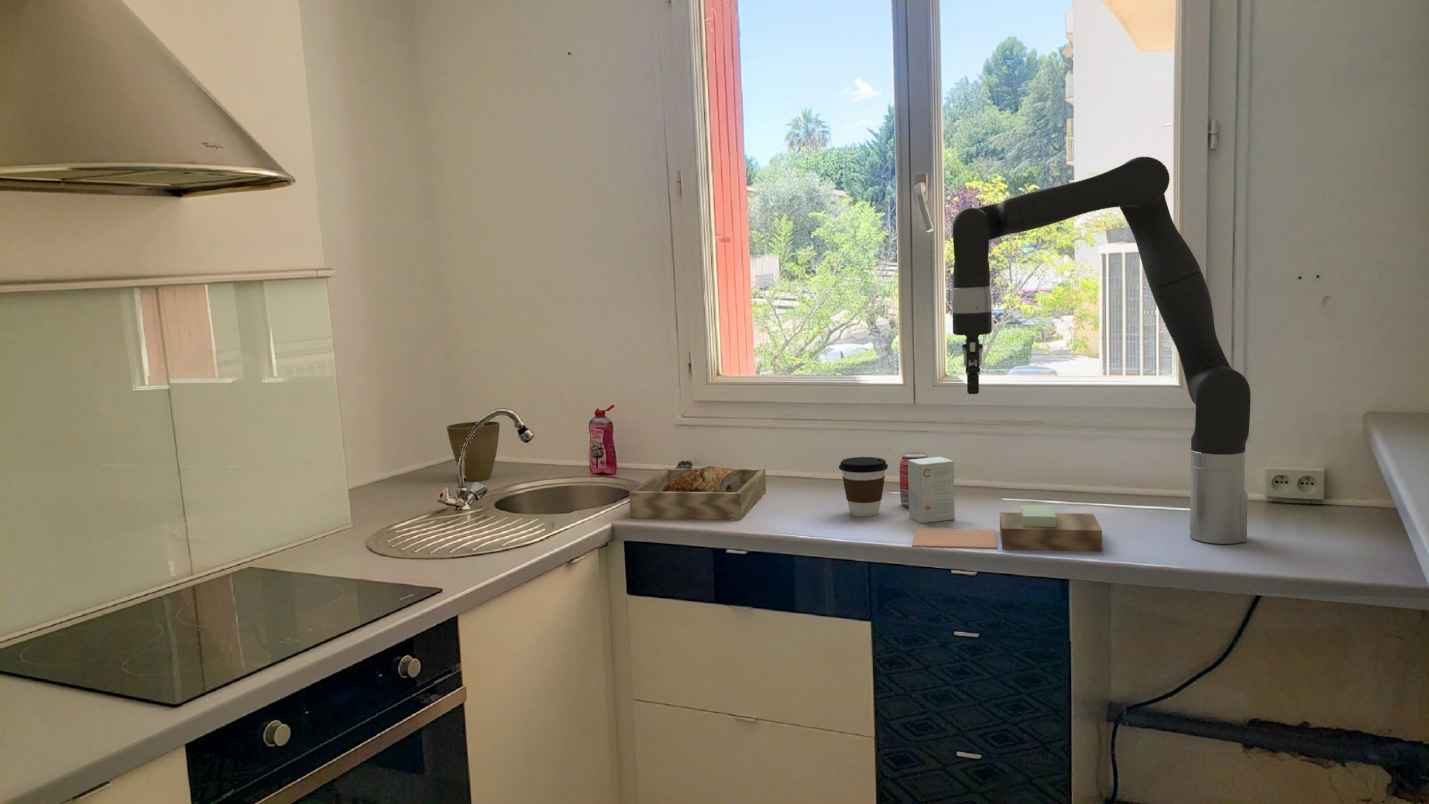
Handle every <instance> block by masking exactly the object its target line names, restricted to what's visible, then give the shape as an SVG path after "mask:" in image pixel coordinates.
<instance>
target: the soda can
mask: <svg viewBox="0 0 1429 804" xmlns="http://www.w3.org/2000/svg"><path fill="white" fill-rule="evenodd" d="M922 458H929V457H928V453H926V452H919V451H918V452H914V451H913V452H911V451H910V452H905V453H902V457H901V459H900V460H899V493H900V494H899V498H900V503H901V504H902V505H903V506H904V507H906V508H909V485H908V460H912V459H922Z"/></svg>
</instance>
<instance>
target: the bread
mask: <svg viewBox="0 0 1429 804" xmlns="http://www.w3.org/2000/svg"><path fill="white" fill-rule="evenodd" d="M695 469H696V470H693V471H689V472H686V473H684V474H682V475H680V476H678V477H676V478H674V479H672V480H671V481H669V482H668V483H667V484H666V485H665V486H664V487H663V488H662V489H661V490H660V492H737V491H738V490H739V489H740V488H741V487H742V486H743V485H744V484H743V483H742V479H743V478H742V473H741V472H740V471H739V470H737V469H738V468H732V467H720V466H704V467H700V468H695Z"/></svg>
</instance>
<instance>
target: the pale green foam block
mask: <svg viewBox="0 0 1429 804" xmlns="http://www.w3.org/2000/svg"><path fill="white" fill-rule="evenodd" d="M1020 513H1021V519H1022V523H1023V526H1033V527H1056V515H1055V513H1056V512H1055V510H1054V508H1053V505H1030V504H1029V505H1027V504H1026V505H1024V504H1023V505H1020Z"/></svg>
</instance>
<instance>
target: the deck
mask: <svg viewBox="0 0 1429 804" xmlns="http://www.w3.org/2000/svg"><path fill="white" fill-rule="evenodd" d="M1054 513H1055V515H1056V527H1033V526H1023V523H1022V519H1021V512H1007V511H1006V512H1001V511H1000V512H999V535H1000V543H1001V548H1002V550H1030V549H1039V550H1040V549H1041V551H1071V550H1074V551H1073V552H1075V551H1076V550H1077V551H1078V550H1079V551H1078V552H1081V550H1082V552H1083V551H1084V552H1103V530H1102V527H1101V525H1100V524H1099V523H1098V522H1099V521H1098V520H1097V518H1096V515H1095V514H1094V513H1063V512H1061V513H1060V512H1054Z"/></svg>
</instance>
